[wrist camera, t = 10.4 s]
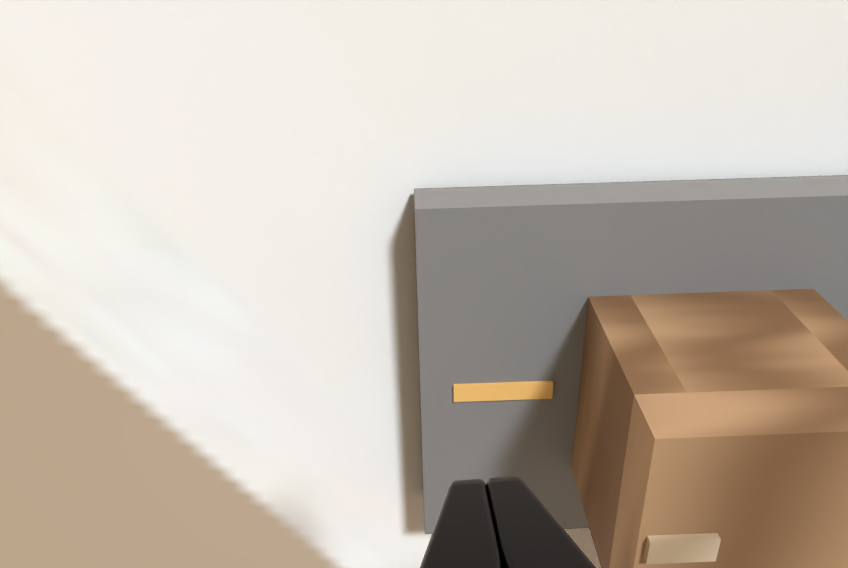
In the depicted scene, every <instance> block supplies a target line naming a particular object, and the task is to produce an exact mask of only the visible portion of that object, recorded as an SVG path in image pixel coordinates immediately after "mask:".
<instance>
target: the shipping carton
mask: <svg viewBox="0 0 848 568" xmlns="http://www.w3.org/2000/svg"><path fill="white" fill-rule="evenodd" d="M572 471H573V474H574V478H575V481H576V484H577V488H578V491H579V494H580V498H581V501H582V505H583V508H584V511H585V515H586V518H587V521H588V525H589V528H590V531H591V535H592V538H593V541H594V545H595V548H596V551H597V555H598V558H599V561H600V565H601V568H848V321H847V320H846V319H845V318H844V317H843V316H842V315H841V314H840V313H839V312H838V311H837V310H835V309H834V308H833V307H832V306H831V305H830V304H829V303H828V302H827V301H826V300H825V299H824V298H823V297H822V296H821V295H820V294H819V293H817V292H816V291H815V290H814V289H788V290H760V291H733V292H705V293H678V294H650V295H622V296H595V297H588V304H587V314H586V324H585V335H584V345H583V355H582V366H581V376H580V386H579V396H578V407H577V417H576V427H575V437H574V448H573V458H572Z"/></svg>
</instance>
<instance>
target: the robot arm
mask: <svg viewBox="0 0 848 568" xmlns="http://www.w3.org/2000/svg"><path fill="white" fill-rule="evenodd" d="M420 568H596V567H595V566H594V565H593V564H592V563H591V561H590V560H589V559H588V558H587V557H586V555H585V554H584V553H583V552H582V551H581V550H580V548H579V547H578V546H577V545H576V544H575V542H574V541H573V540H572V539H571V538H570V536H569V535H568V534H567V533H566V532H565V530H564V529H563V528H562V527H561V526H560V525H559V523H558V522H557V521H556V520H555V519H554V517H553V516H552V515H551V514H550V513H549V511H548V510H547V509H546V508H545V507H544V505H543V504H542V503H541V502H540V501H539V499H538V498H537V497H536V496H535V495H534V494H533V492H532V491H531V490H530V489H529V488H528V486H527V485H526V484H525V483H524V482H523V481H522V480H521V479H520V478H519V477H516V476H511V477H497V478H489V479H488V480H487V481H486V483H485V482H484V481H483V480H481V479H470V480H457V481H453V482H452V483H451V484H450V486H449V488H448V491H447V494H446V496H445V499H444V502H443V505H442V508H441V510H440V513H439V516H438V519H437V522H436V524H435V527H434V530H433V533H432V536H431V538H430V541H429V544H428V547H427V550H426V552H425V555H424V558H423V561H422V564H421V566H420Z"/></svg>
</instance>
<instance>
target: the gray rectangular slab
mask: <svg viewBox="0 0 848 568" xmlns="http://www.w3.org/2000/svg"><path fill="white" fill-rule="evenodd" d="M414 209H415V241H416V273H417V305H418V336H419V368H420V400H421V432H422V464H423V495H424V524H425V534H432V533H433V530H434V527H435V524H436V522H437V519H438V516H439V513H440V510H441V508H442V505H443V502H444V499H445V496H446V494H447V491H448V488H449V486H450V484H451V483H452V482H453V481H457V480H470V479H481V480H483V481H484V482H485V483H486V481H487V480H488V479H489V478H497V477H511V476H516V477H519V478H520V479H521V480H522V481H523V482H524V483H525V484H526V485H527V486H528V488H529V489H530V490H531V491H532V492H533V494H534V495H535V496H536V497H537V498H538V499H539V501H540V502H541V503H542V504H543V505H544V507H545V508H546V509H547V510H548V511H549V513H550V514H551V515H552V516H553V517H554V519H555V520H556V521H557V522H558V523H559V525H560V526H561V527H562V528H563V529H570V528H589V525H588V521H587V518H586V515H585V511H584V508H583V505H582V501H581V498H580V494H579V491H578V488H577V484H576V481H575V478H574V474H573V471H572V458H573V448H574V437H575V427H576V417H577V407H578V396H579V386H580V376H581V366H582V355H583V345H584V335H585V324H586V314H587V304H588V297H595V296H622V295H650V294H678V293H705V292H733V291H760V290H788V289H814V290H815V291H816V292H817V293H819V294H820V295H821V296H822V297H823V298H824V299H825V300H826V301H827V302H828V303H829V304H830V305H831V306H832V307H833V308H834V309H835V310H837V311H838V312H839V313H840V314H841V315H842V316H843V317H844V318H845V319H846V320H847V321H848V175H835V176H803V177H771V178H739V179H707V180H676V181H644V182H612V183H580V184H548V185H517V186H485V187H453V188H421V189H414Z"/></svg>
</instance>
